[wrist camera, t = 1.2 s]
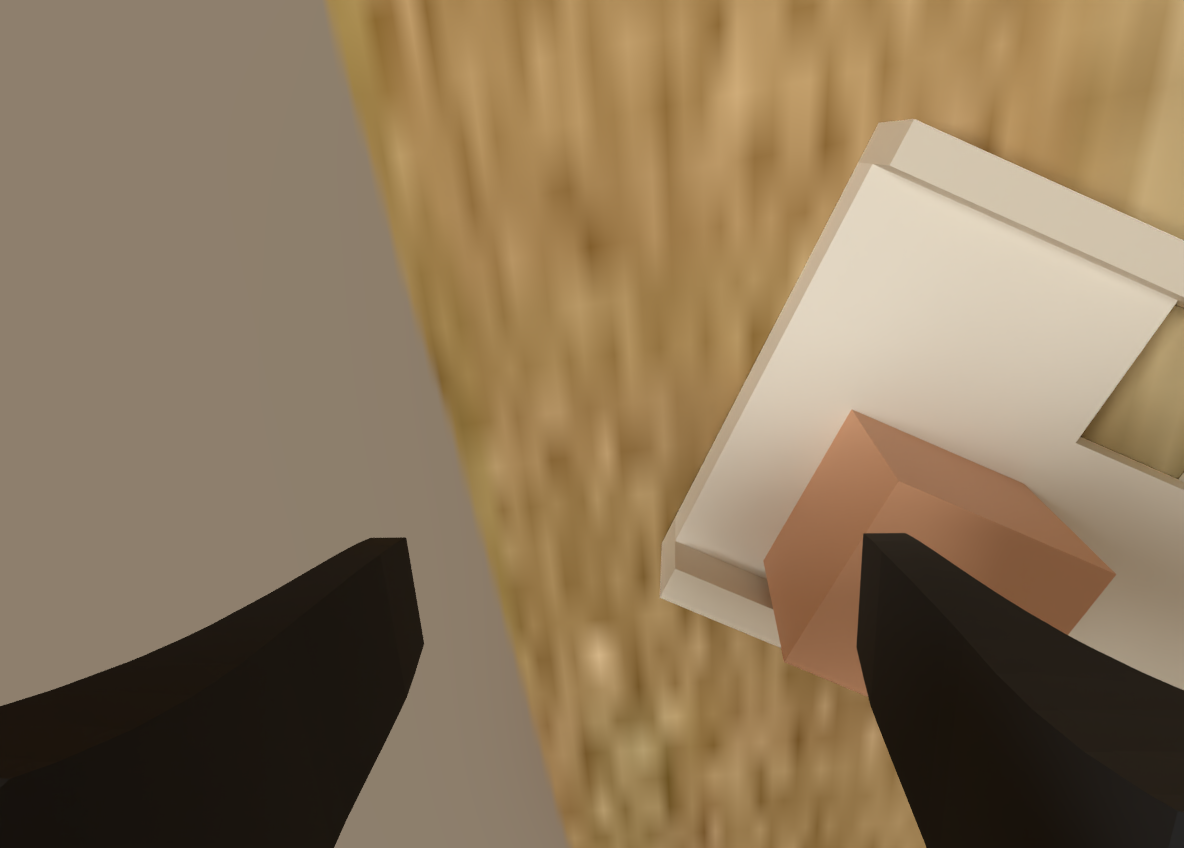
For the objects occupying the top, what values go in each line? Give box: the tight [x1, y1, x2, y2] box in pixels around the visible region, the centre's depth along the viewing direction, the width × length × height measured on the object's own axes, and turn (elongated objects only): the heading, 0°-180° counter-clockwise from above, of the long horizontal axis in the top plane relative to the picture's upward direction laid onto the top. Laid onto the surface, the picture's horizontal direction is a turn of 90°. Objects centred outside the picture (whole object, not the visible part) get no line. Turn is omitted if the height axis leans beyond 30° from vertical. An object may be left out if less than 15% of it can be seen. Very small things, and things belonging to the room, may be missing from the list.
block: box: [763, 409, 1116, 697], centre depth 19 cm, size 5×5×4 cm
